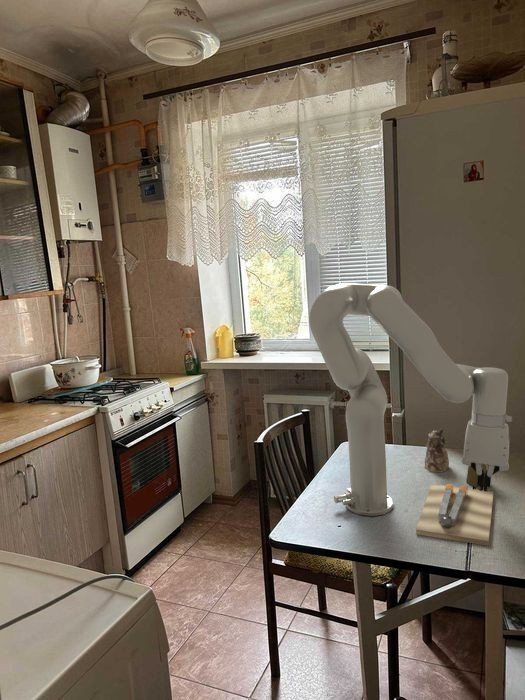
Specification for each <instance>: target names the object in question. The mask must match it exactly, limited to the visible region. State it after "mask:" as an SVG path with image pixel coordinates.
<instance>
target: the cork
mask: <svg viewBox="0 0 525 700" xmlns="http://www.w3.org/2000/svg"><path fill="white" fill-rule="evenodd" d="M482 469H483V470H484V478H485V473H486V471H487V470H488V466H487V465H485V464H482ZM466 473H467V474H466V480H465V481H466V484H467V486H471V487H474V488H480V486H477V481H478V475H477V473H476V471H475V470H474V469H473V468H472V467H471V466H468V467H467V471H466Z"/></svg>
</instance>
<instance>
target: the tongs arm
mask: <svg viewBox="0 0 525 700" xmlns="http://www.w3.org/2000/svg"><path fill="white" fill-rule="evenodd" d="M468 486H469V485H462V484H460V486H459V487H458V488H459V492H458V494H457V497H456V499H455V502H454V504H453V507H452V509H451V512H450V514H449V516H447V515H443V516H441V526H442V527H444V528H450V527H455V526H456V523H457V520H458V518H459V515H460V512H461V509H462V507H463V504H464V501H465V498H466V497H467V494H468V489H469V488H468Z"/></svg>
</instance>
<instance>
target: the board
mask: <svg viewBox="0 0 525 700" xmlns="http://www.w3.org/2000/svg"><path fill="white" fill-rule="evenodd" d="M445 487H446V485H440V484H433V483H432V484H431V485H430V488H429V491H428V494H427V497H426V499H425V503H424V505H423V508H422V511H421V514H420V517H419V520H418V522H417V526H416V528H415V534H416V535H420V536H426V537H430V538H431V537H432V538H439V539H444V540H450V541H451V540H452V541H457V542H462V543H463V542H464V543H471V544H475V545H476V544H477V545H483V546H489V544H490V535H491V525H492V524H491V523H492V515H493V514H492V513H493V503H494V491H493V490H492V491H489V490H487V492H485V491H484V489H483V491H480V489H474V488H473V489H472V488H468V494H467V497H466V498H465V501H464V504H463V507H462V509H461V512H460V515H459V518H458V520H457V523H456V526H455V527H450V528H444V527H442V526H441V522H440V521H438V513H439V509H440V506H441V502H442V499H443V496H444V492H445ZM459 488H460V487H459V486H457V487H456V486H453V489H454V492H453V496H452V498H451V502H450V506H449V510H448V514H447V516H449V514H450V512H451V509H452V507H453V504H454V502H455V499H456V497H457V494H458V492H459ZM489 547H490V546H489Z"/></svg>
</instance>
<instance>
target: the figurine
mask: <svg viewBox="0 0 525 700" xmlns="http://www.w3.org/2000/svg"><path fill="white" fill-rule="evenodd" d="M443 432H444V430H443V429H442V428H439V430H435V429H434V430H432V431H430V432H429V433H428V435H427V436H428V439H427V444H425V448H426V452H425V458H424V468H425V469H424V470H427V471H429V472H434V473H442V472H446V471H447V470H448V469H449V467H450V459H449V455H448V451H447V448H446V446H445V444H446V439H445V437H444V436H443Z"/></svg>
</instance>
